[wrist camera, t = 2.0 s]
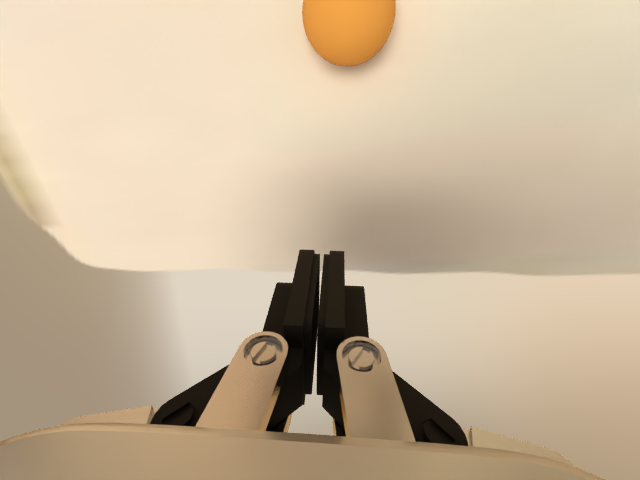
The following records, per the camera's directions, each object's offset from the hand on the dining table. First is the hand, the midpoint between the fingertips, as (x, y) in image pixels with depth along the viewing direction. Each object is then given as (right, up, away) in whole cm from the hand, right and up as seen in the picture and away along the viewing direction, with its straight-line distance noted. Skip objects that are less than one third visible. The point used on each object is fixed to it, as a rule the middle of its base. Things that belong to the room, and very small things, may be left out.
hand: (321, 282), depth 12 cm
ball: (+2, +14, +5) cm, 15 cm away
